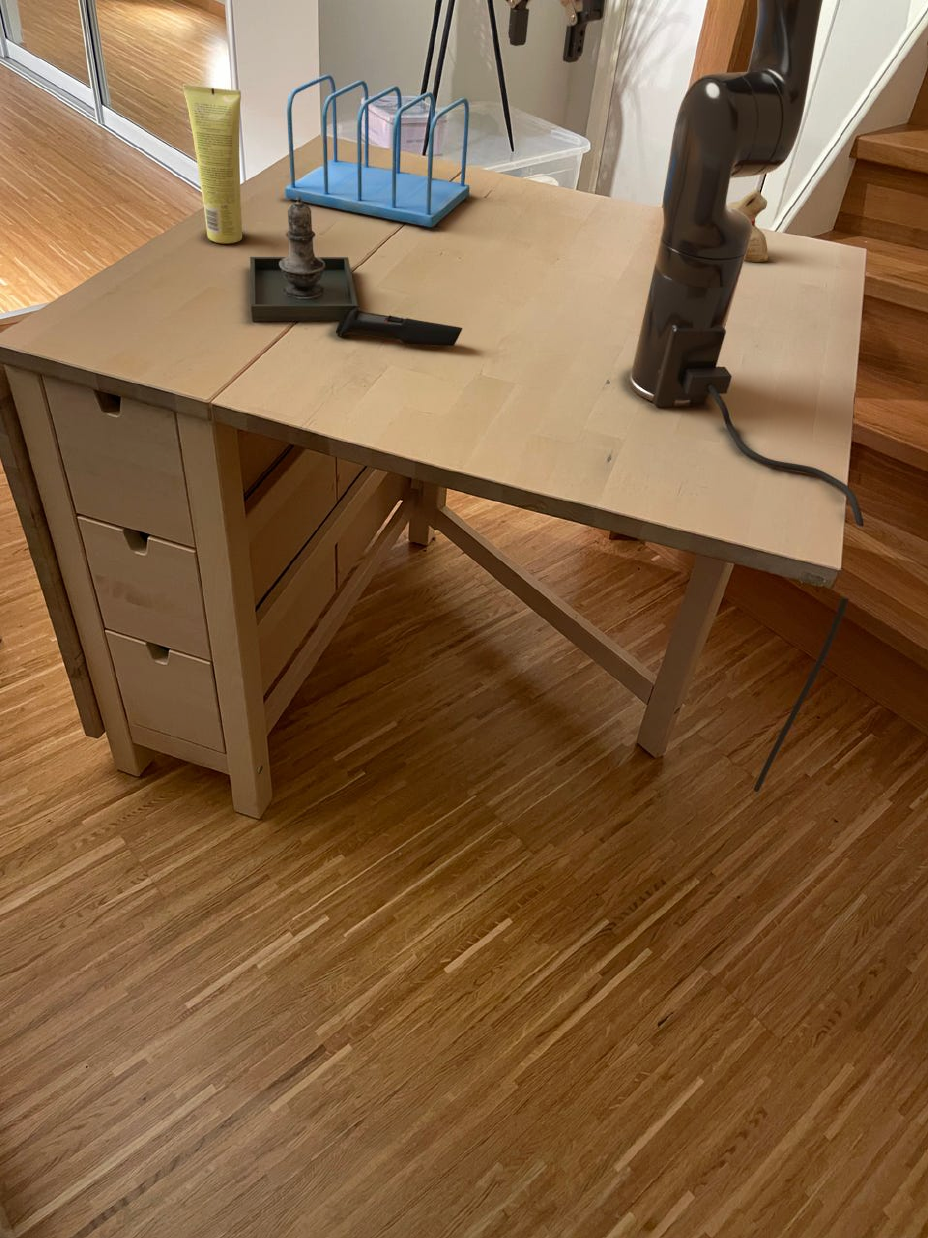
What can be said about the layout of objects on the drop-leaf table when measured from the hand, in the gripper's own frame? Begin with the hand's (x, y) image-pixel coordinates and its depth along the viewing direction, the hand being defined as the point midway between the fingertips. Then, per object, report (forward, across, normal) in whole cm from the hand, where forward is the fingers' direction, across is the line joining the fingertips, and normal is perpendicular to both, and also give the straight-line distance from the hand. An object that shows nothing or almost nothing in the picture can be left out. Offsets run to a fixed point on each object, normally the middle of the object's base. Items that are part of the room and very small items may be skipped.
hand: (543, 52), depth 110 cm
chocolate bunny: (+28, +14, +37) cm, 48 cm away
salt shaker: (+28, -14, -27) cm, 41 cm away
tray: (+28, -14, -27) cm, 41 cm away
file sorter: (+28, -35, +5) cm, 46 cm away
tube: (+28, -35, -24) cm, 51 cm away
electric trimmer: (+28, +3, -25) cm, 38 cm away
